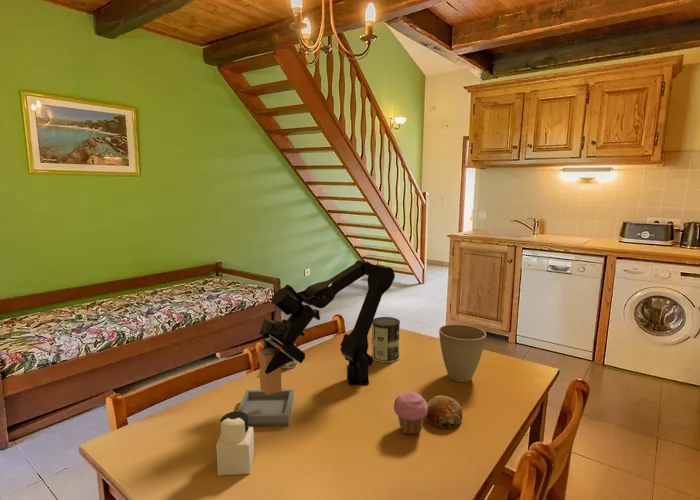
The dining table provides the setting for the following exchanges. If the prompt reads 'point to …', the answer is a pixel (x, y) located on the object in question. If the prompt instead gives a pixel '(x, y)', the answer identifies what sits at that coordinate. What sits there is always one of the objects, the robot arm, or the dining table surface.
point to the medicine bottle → (235, 445)
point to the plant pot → (461, 350)
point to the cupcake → (410, 411)
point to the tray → (267, 407)
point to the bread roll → (444, 412)
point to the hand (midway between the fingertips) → (262, 369)
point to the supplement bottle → (290, 364)
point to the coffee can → (385, 339)
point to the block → (273, 379)
